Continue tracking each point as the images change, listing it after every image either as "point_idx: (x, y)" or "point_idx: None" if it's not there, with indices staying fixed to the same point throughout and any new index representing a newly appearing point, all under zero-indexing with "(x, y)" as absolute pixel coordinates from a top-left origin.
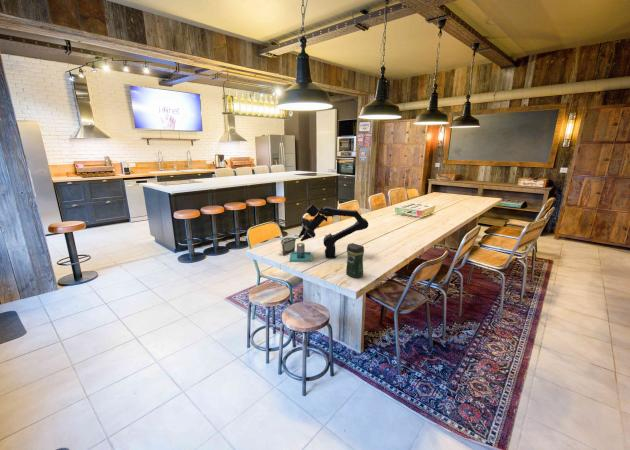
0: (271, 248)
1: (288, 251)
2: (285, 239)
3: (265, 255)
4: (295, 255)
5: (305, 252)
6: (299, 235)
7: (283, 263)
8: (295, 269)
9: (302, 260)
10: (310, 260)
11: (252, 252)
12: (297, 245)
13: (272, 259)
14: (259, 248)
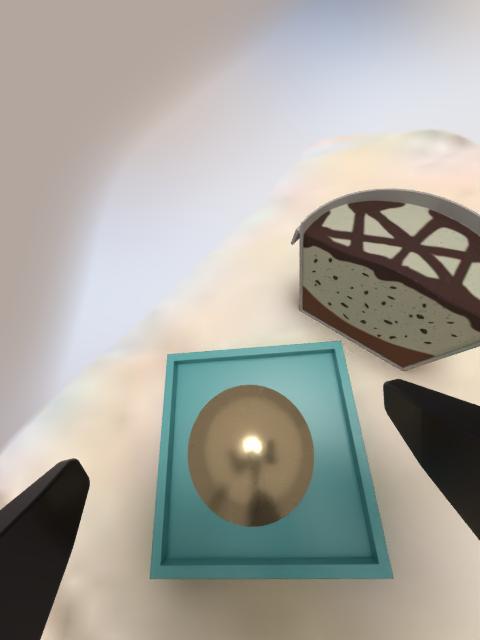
0: None
1: (337, 319)
2: (444, 223)
3: (285, 203)
4: (294, 390)
5: (364, 494)
6: (403, 406)
7: (151, 323)
8: (34, 419)
9: (162, 469)
10: (155, 563)
11: (323, 141)
12: (212, 400)
13: (221, 250)
14: (400, 149)
